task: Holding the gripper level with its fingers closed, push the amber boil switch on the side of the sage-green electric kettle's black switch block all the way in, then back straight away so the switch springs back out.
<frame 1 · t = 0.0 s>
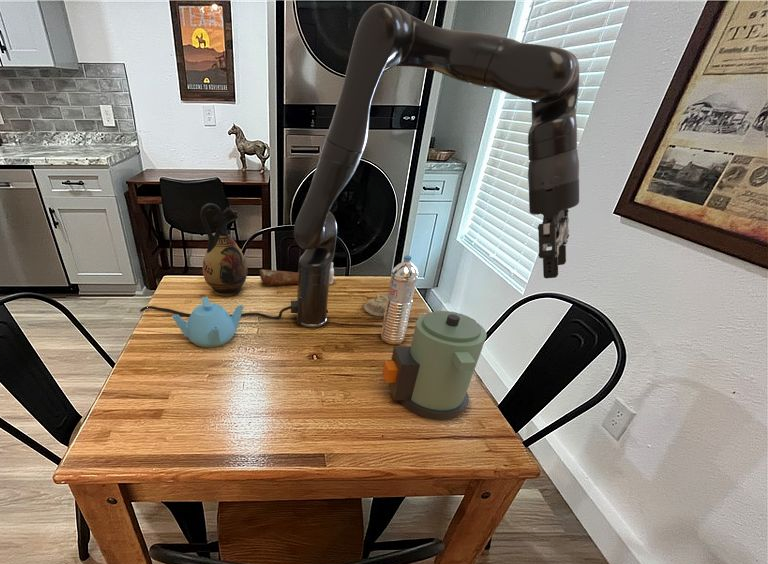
hand: (555, 270, 75), 31 cm above the table, tool tilted 20°, fingers open, 8 cm apart
switch: (390, 371, 87), point 8 cm above the table, slide at -0.1 cm
teapot: (211, 337, 113), on the table
water bottle: (391, 339, 113), on the table
bread: (285, 283, 145), on the table
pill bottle: (327, 282, 147), on the table
ceramic jug: (224, 291, 139), on the table
cake: (378, 309, 129), on the table
kettle: (430, 396, 92), on the table
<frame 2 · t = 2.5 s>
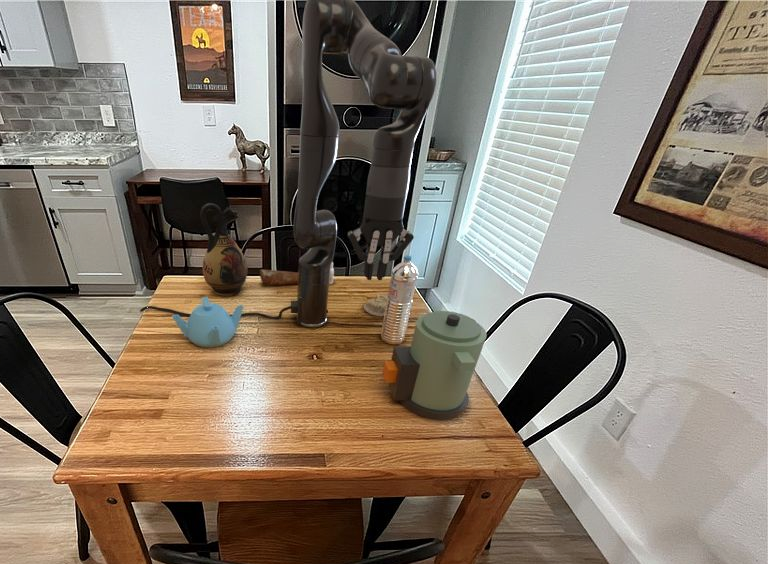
hand: (373, 278, 82), 27 cm above the table, tool pointing down, fingers closed
nothing on the table moved.
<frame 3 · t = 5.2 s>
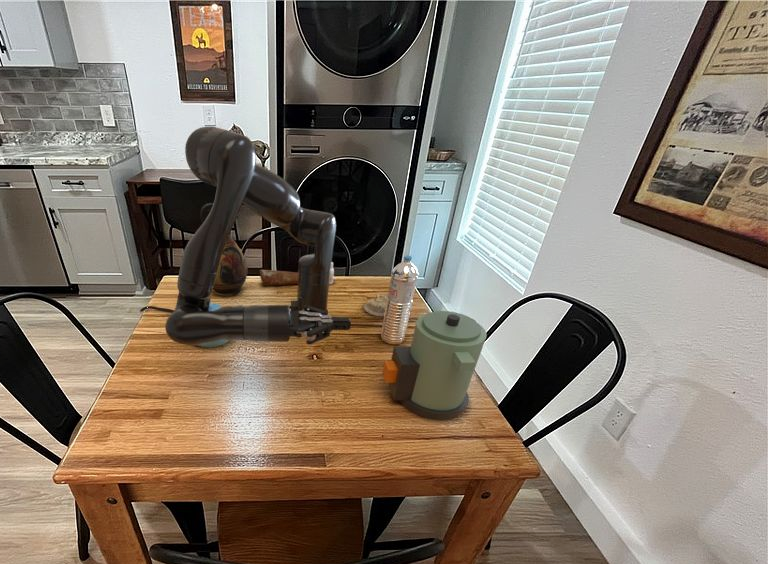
hand: (349, 323, 80), 20 cm above the table, tool horizontal, fingers closed
nothing on the table moved.
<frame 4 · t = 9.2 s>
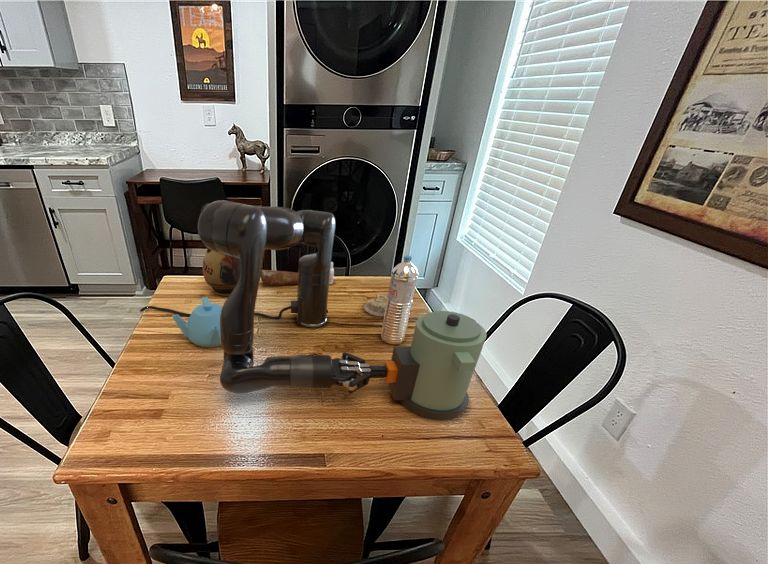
hand: (386, 371, 87), 8 cm above the table, tool horizontal, fingers closed
switch: (391, 371, 87), point 7 cm above the table, slide at 0.2 cm, touching gripper
everything else where it was.
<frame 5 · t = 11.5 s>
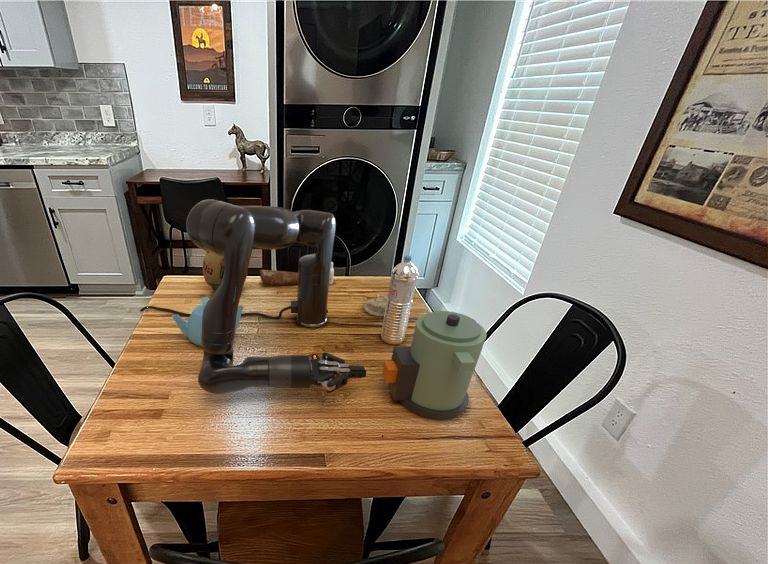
hand: (365, 371, 87), 7 cm above the table, tool horizontal, fingers closed
switch: (390, 371, 87), point 7 cm above the table, slide at -0.1 cm
everything else where it was.
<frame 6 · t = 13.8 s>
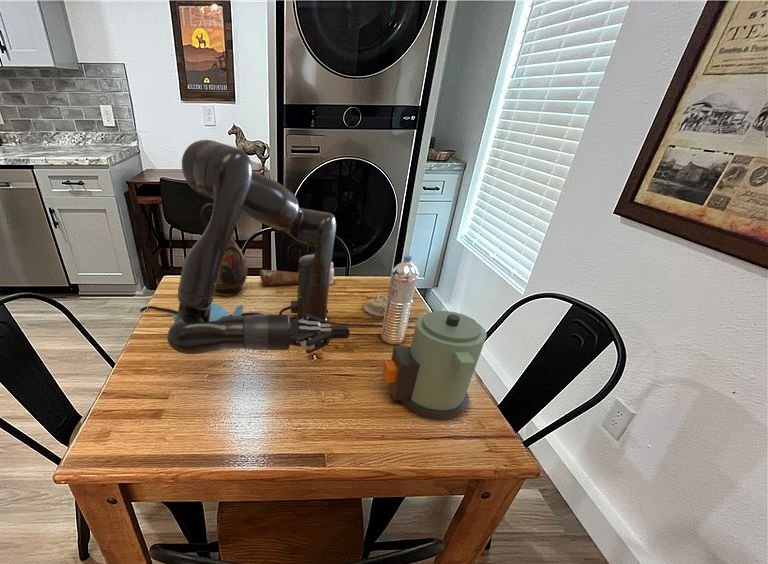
hand: (348, 332, 81), 18 cm above the table, tool horizontal, fingers closed
nothing on the table moved.
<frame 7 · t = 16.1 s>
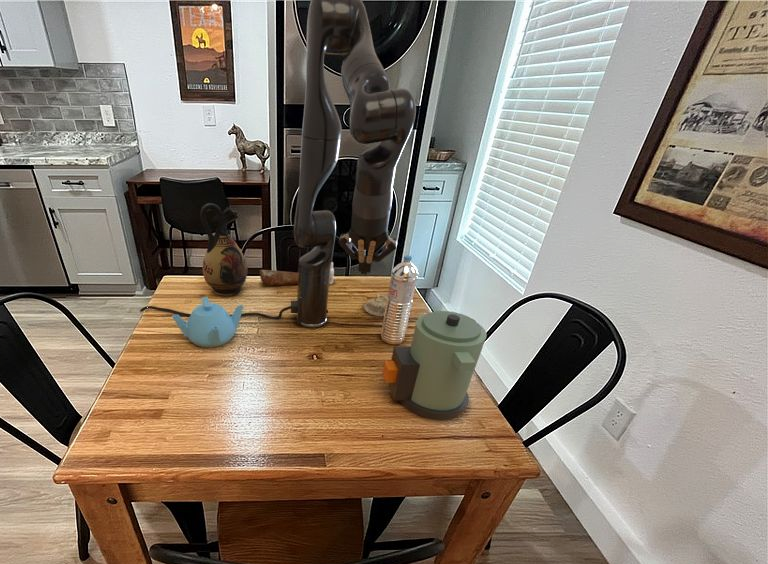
hand: (364, 271, 91), 25 cm above the table, tool tilted 20°, fingers closed
nothing on the table moved.
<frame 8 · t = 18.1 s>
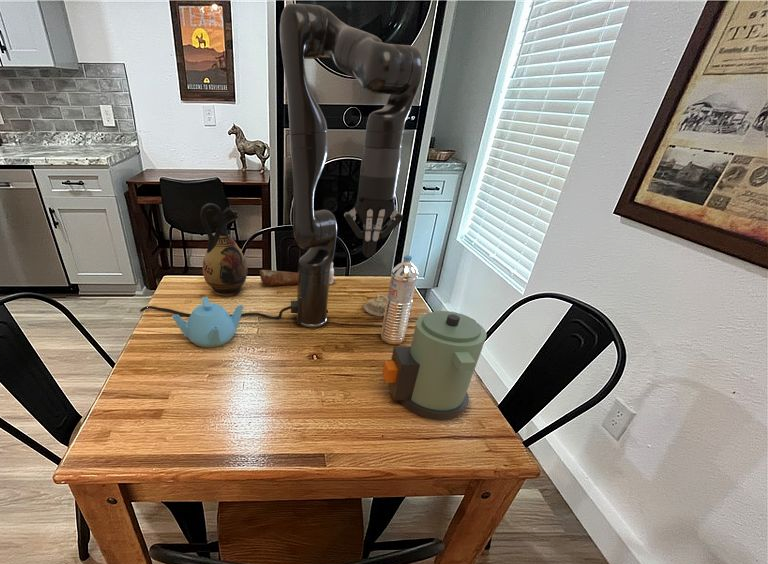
hand: (367, 256, 87), 29 cm above the table, tool pointing down, fingers closed
nothing on the table moved.
at the end: switch pulled out 1.5 cm at the most during the clip, back to where it started at the end; switch slide at -0.1 cm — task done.
